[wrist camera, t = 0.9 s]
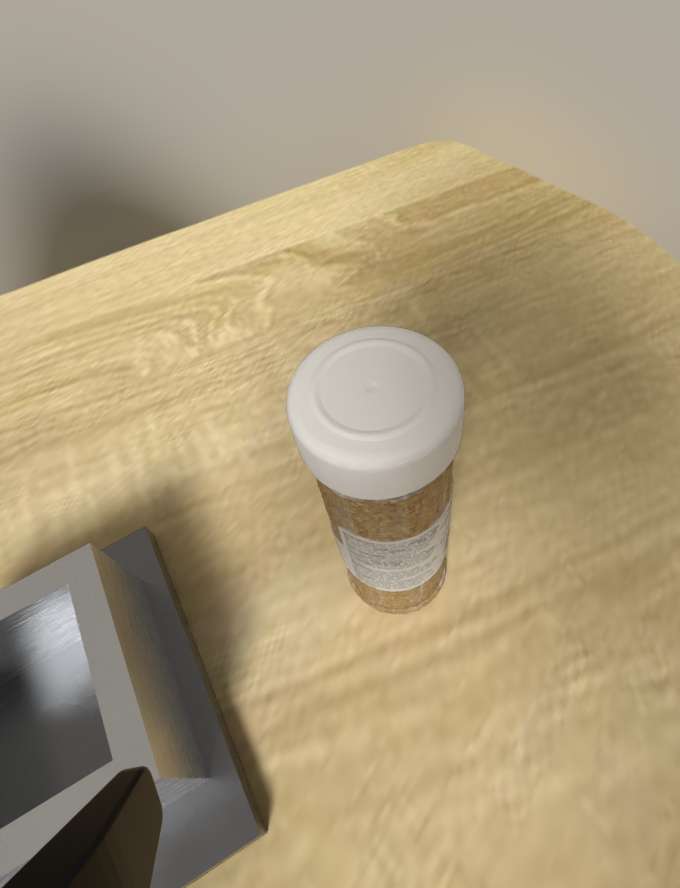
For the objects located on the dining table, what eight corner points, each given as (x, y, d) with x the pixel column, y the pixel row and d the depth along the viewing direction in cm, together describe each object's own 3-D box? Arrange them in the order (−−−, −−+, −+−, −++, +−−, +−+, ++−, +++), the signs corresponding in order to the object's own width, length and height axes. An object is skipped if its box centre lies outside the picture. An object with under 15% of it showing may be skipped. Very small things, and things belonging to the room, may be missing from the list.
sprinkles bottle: (360, 514, 26) (311, 311, 15) (454, 532, 25) (479, 326, 14) (336, 605, 24) (257, 447, 13) (438, 629, 23) (450, 479, 12)
